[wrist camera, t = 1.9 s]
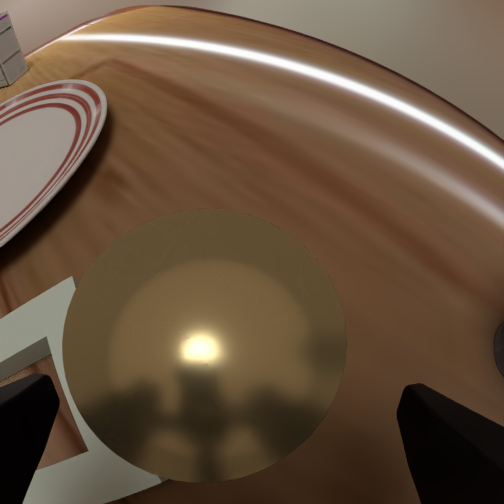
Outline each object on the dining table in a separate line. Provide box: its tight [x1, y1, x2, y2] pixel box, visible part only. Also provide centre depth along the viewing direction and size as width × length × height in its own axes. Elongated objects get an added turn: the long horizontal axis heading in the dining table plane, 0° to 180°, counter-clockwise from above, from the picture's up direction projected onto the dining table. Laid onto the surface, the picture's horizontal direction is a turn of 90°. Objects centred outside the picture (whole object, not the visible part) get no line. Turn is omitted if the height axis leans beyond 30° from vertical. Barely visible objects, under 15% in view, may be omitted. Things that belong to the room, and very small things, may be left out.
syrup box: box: [0, 11, 29, 88], centre depth 33 cm, size 6×6×14 cm
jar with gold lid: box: [62, 209, 347, 483], centre depth 10 cm, size 4×4×12 cm
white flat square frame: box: [0, 276, 168, 504], centre depth 13 cm, size 12×12×2 cm
